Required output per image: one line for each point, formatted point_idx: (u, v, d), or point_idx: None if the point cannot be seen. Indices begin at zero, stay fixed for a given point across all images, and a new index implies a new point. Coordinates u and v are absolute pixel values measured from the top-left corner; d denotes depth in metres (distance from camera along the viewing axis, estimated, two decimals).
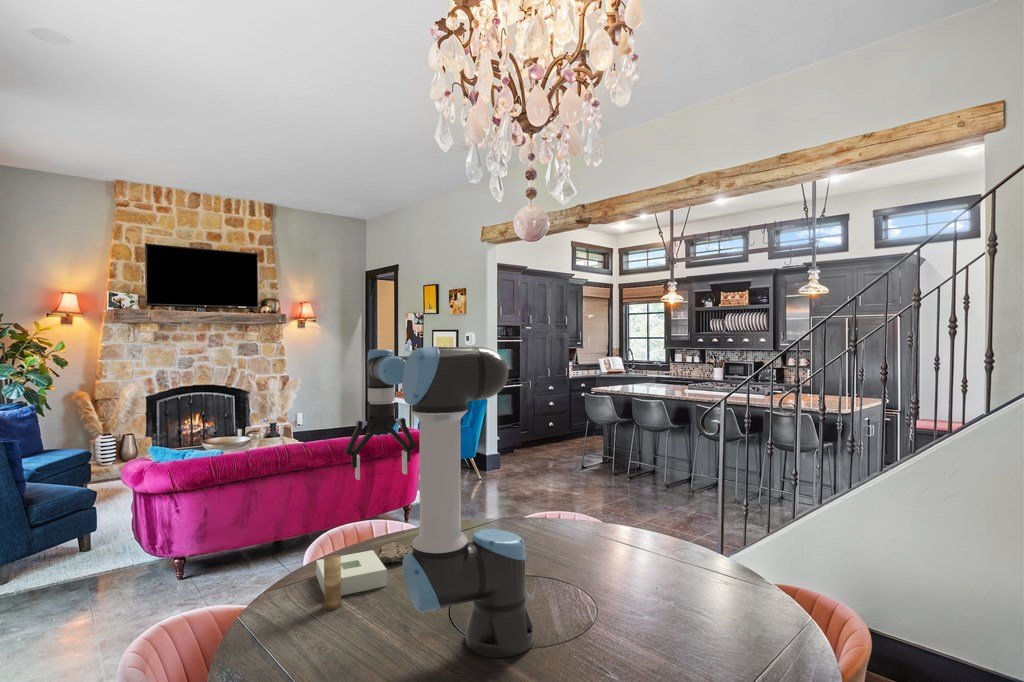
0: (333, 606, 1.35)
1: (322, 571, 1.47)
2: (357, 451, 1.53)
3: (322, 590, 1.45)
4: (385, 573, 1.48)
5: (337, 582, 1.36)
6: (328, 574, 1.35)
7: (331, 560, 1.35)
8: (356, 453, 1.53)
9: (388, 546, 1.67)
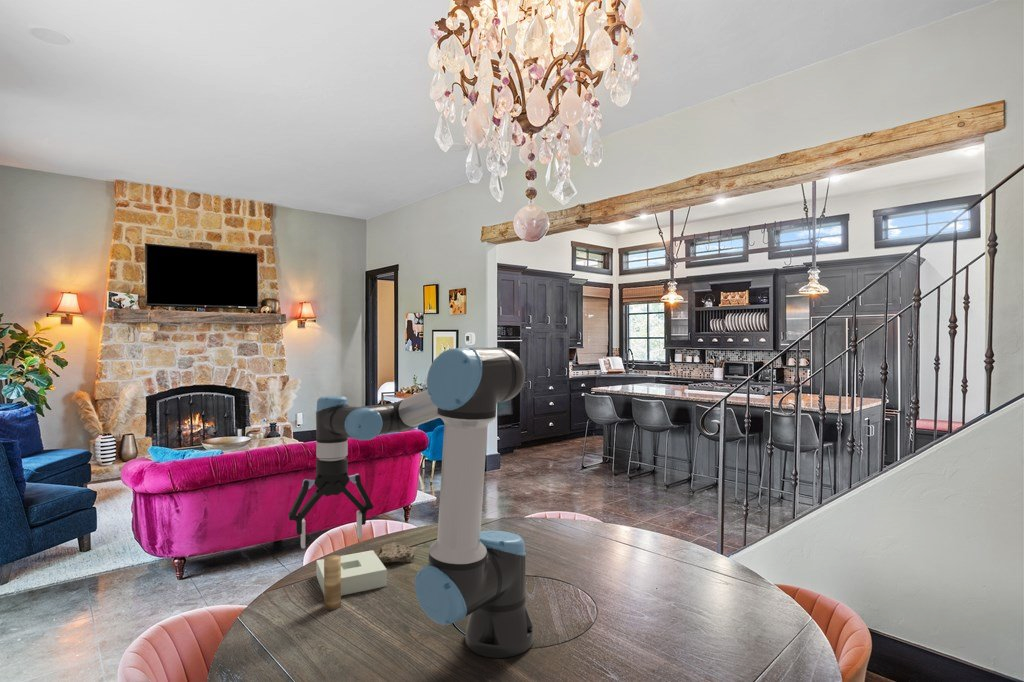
0: (333, 606, 1.35)
1: (322, 571, 1.47)
2: (302, 515, 1.33)
3: (322, 590, 1.45)
4: (385, 573, 1.48)
5: (337, 582, 1.36)
6: (328, 574, 1.35)
7: (331, 560, 1.35)
8: (301, 518, 1.33)
9: (388, 546, 1.67)
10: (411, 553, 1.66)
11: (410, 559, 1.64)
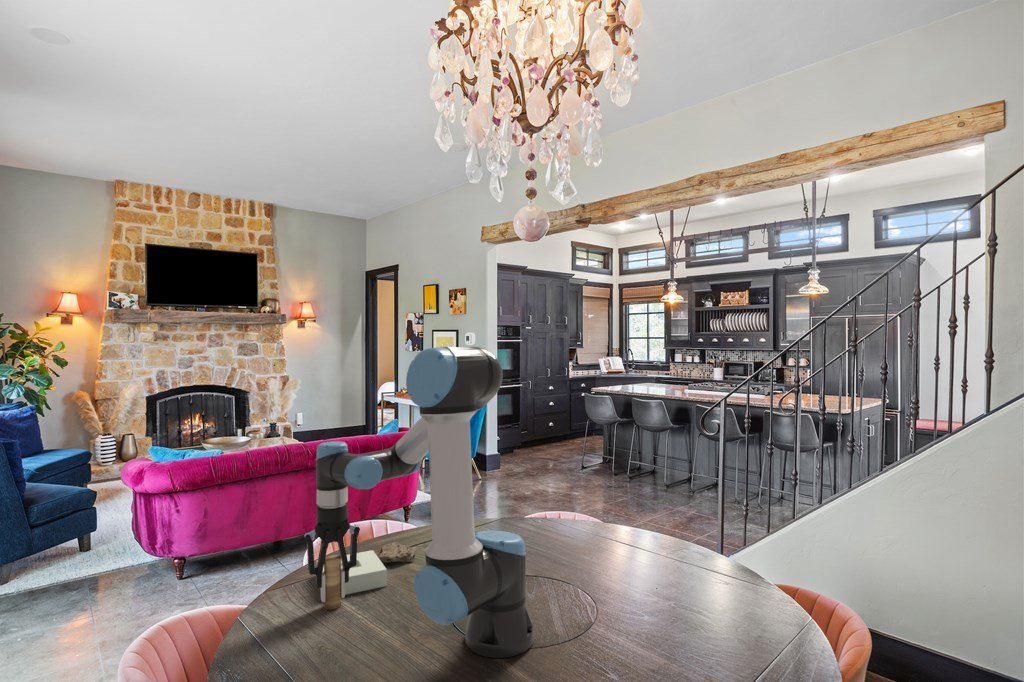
0: (333, 606, 1.35)
1: None
2: (320, 569, 1.34)
3: None
4: (385, 573, 1.48)
5: (337, 582, 1.36)
6: (328, 574, 1.35)
7: (331, 560, 1.35)
8: (320, 571, 1.34)
9: (389, 546, 1.67)
10: (412, 553, 1.66)
11: (411, 559, 1.64)
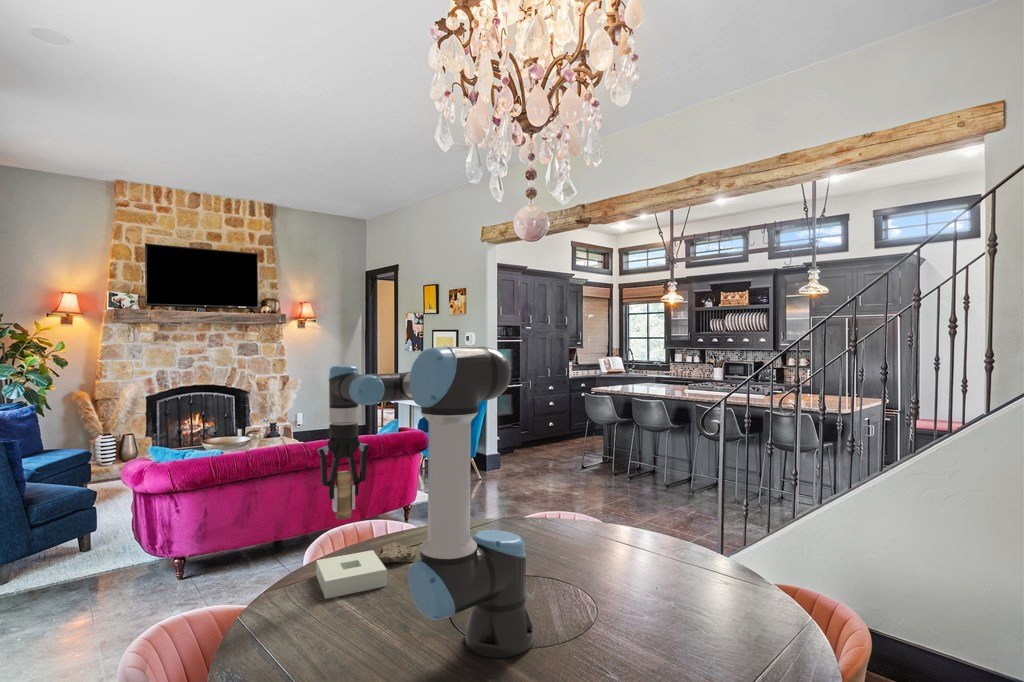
0: (344, 516, 1.45)
1: (322, 571, 1.47)
2: (333, 481, 1.45)
3: (322, 590, 1.45)
4: (385, 573, 1.48)
5: (348, 494, 1.46)
6: (340, 486, 1.45)
7: (342, 473, 1.46)
8: (333, 483, 1.45)
9: (389, 546, 1.67)
10: (412, 553, 1.66)
11: (411, 559, 1.64)
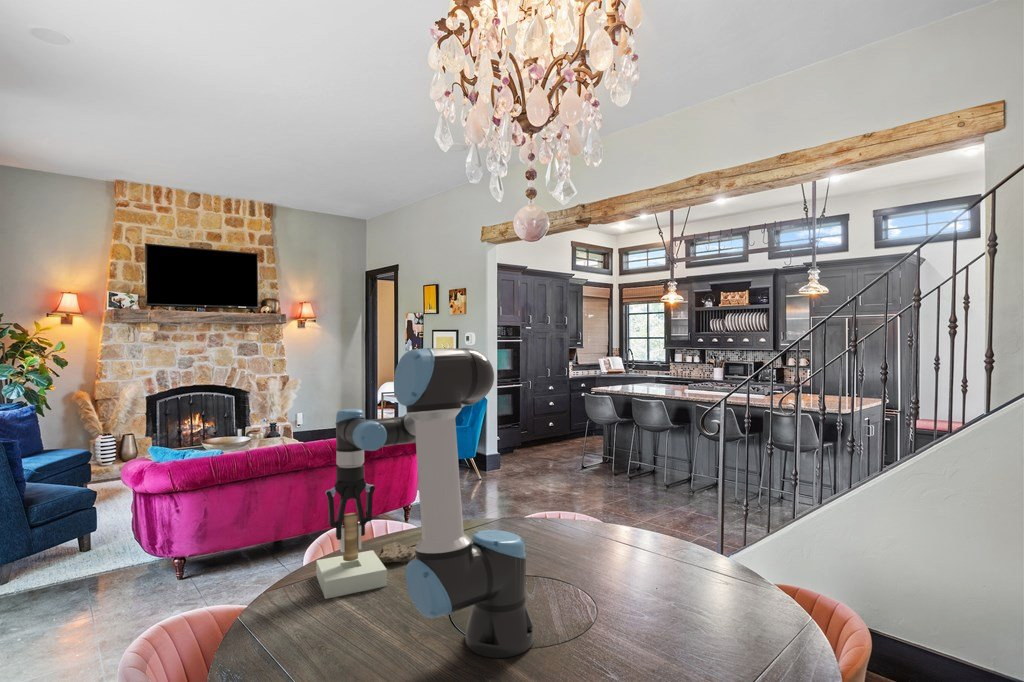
0: (351, 558, 1.50)
1: (322, 571, 1.47)
2: (340, 522, 1.49)
3: (322, 590, 1.45)
4: (385, 573, 1.48)
5: (355, 536, 1.51)
6: (347, 529, 1.50)
7: (349, 516, 1.50)
8: (340, 524, 1.49)
9: (390, 546, 1.67)
10: (412, 553, 1.66)
11: (411, 559, 1.64)
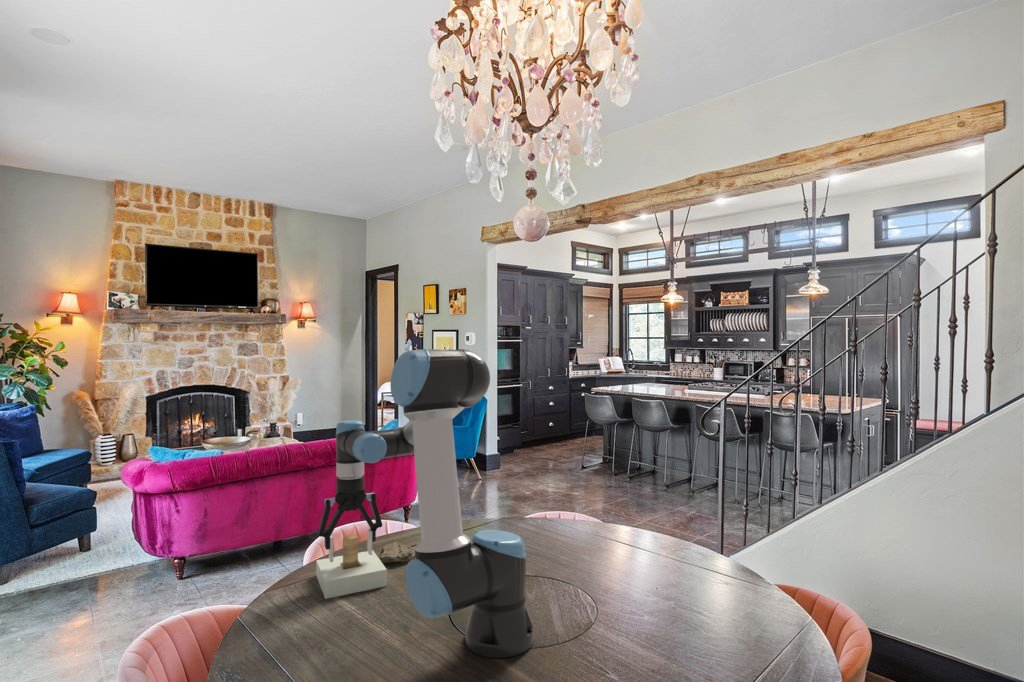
0: None
1: (322, 571, 1.47)
2: (330, 532, 1.48)
3: (322, 590, 1.45)
4: (385, 573, 1.48)
5: (355, 559, 1.50)
6: (347, 552, 1.50)
7: (349, 539, 1.50)
8: (329, 534, 1.48)
9: (390, 546, 1.67)
10: (413, 553, 1.66)
11: (412, 559, 1.64)
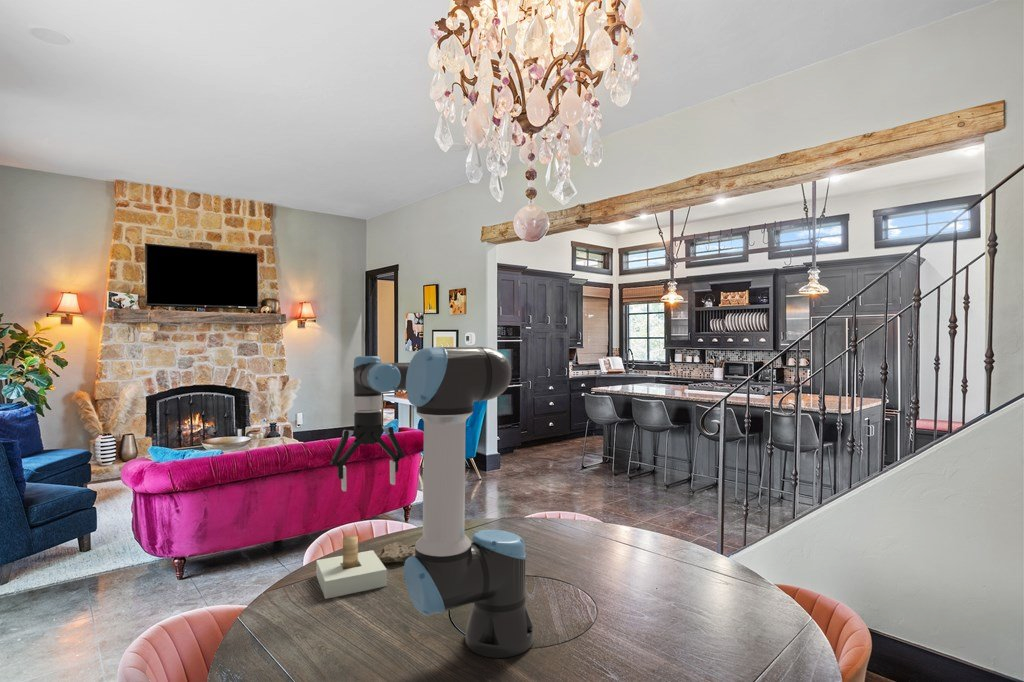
0: None
1: (322, 571, 1.47)
2: (343, 462, 1.48)
3: (322, 590, 1.45)
4: (385, 573, 1.48)
5: (355, 559, 1.50)
6: (347, 552, 1.50)
7: (349, 539, 1.50)
8: (342, 464, 1.48)
9: (391, 546, 1.67)
10: (413, 553, 1.66)
11: None
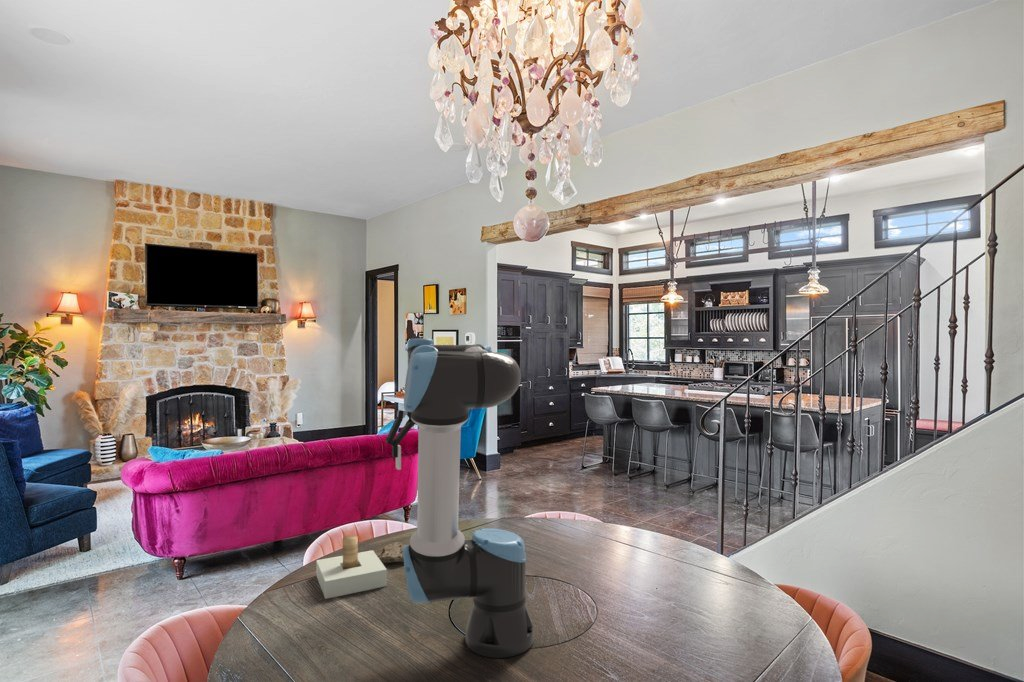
0: None
1: (322, 571, 1.47)
2: (398, 441, 1.52)
3: (322, 590, 1.45)
4: (385, 573, 1.48)
5: (355, 559, 1.50)
6: (347, 552, 1.50)
7: (349, 539, 1.50)
8: (397, 443, 1.52)
9: (391, 546, 1.67)
10: None
11: None
